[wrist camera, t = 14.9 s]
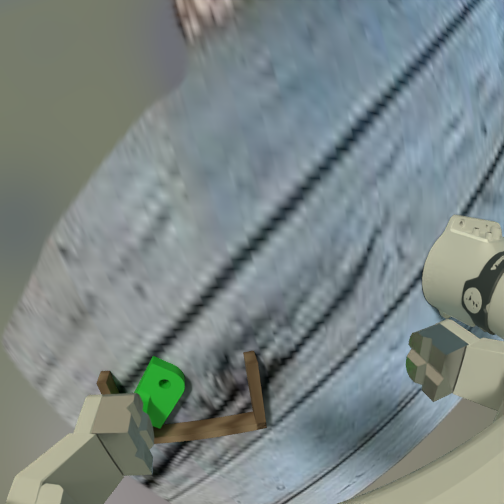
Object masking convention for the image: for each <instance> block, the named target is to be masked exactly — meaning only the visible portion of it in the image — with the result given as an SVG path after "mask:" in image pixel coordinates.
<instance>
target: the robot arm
mask: <svg viewBox="0 0 504 504" xmlns="http://www.w3.org/2000/svg"><path fill="white" fill-rule="evenodd" d="M501 231H502V230H501V227H500V224H499V223H497V222H494V221H489V220H483V219H477V218H472V217H466V216H460V215H453V216H452V217H451V218H450V220H449V222H448V225H447V227H446V229H445V231H444V233H443V234H442V235H441V236H440V237H439V238H438V240H437V241H436V242H435V243H434V245H433V247H432V248H431V250H430V252H429V254H428V257H427V259H426V262H425V266H424V270H423V277H422V286H423V292H424V295H425V298H426V300H427V301H428V302H429V303H430V304H431V305H432V306H434V307H436V308H437V309H438V310H439V313H440V315H441V316H442V317H444V318H446V320H444V321H441V322H439V323H437V324H435V325H433V326H430V327H427V328H425V329H422V330H419V331H417V332H414V333H412V335H411V336H410V339H409V346H410V348H411V350H410V352H409V354H408V355H407V358H406V369H407V373H408V375H409V377H410V378H411V379H412V380H413V381H414V382H415V383H418V384H421V385H422V391H423V392H424V393H425V394H426V395H427V396H428V397H429V398H430V399H431V400H432V401H433V402H434V401H437V400H439V399H441V398H443V397H445V396H447V395H449V394H451V393H453V394H455V395H458V396H460V397H463V398H465V399H468V400H470V401H473V402H476V403H478V404H481V405H483V406H486V407H489V408H491V409H494V410H497V411H498V413H497V415H496V417H495V419H494V422H493V423H492V424H491V425H490V426H488V427H487V428H485V429H484V430H483V431H481V432H480V433H478V434H477V435H475V436H474V437H472V438H471V439H469V440H468V441H466V442H465V443H463V444H462V445H460V446H459V447H457V448H455V449H454V450H452V451H450V452H449V453H447V454H445V455H444V456H442V457H440V458H438V459H437V460H435V461H433V462H431V463H429V464H427V465H425V466H424V467H422V468H420V469H418V470H416V471H414V472H412V473H410V474H408V475H406V476H404V477H402V478H399V479H397V480H395V481H393V482H391V483H389V484H386V485H384V486H382V487H379V488H377V489H375V490H372V491H370V492H367V493H365V494H362V495H359V496H357V497H354V498H351V499H349V500H346V501H343V502H340V503H337V504H504V341H498V340H493V339H487V338H481V339H479V338H478V337H476V336H475V335H473V334H472V333H470V332H469V331H467V330H466V329H464V328H463V327H462V326H460V325H459V324H457V323H456V322H454V321H453V320H450V319H448V318H450V317H453V318H455V319H457V320H459V321H461V322H463V323H465V324H467V325H469V326H471V327H474V326H476V325H477V326H478V327H480V329H481V330H483V331H485V332H488V333H489V334H492V335H495V334H496V335H498V336H499V337H501V338H502V339H504V237H502V232H501ZM153 445H154V432H153V426H152V423H151V420H150V417H149V415H148V414H147V413H145V412H144V411H143V401H142V399H141V397H140V395H139V394H138V393H125V394H105V395H89V396H87V397H86V399H85V401H84V404H83V407H82V410H81V413H80V415H79V418H78V421H77V424H76V427H75V430H74V433H73V434H68V435H66V436H65V437H64V438H63V439H61V440H60V441H59V442H58V443H56V444H55V445H54V446H53V447H52V448H50V449H49V450H48V451H46V452H45V453H44V454H43V455H41V456H40V457H39V458H38V459H36V460H35V461H34V462H33V463H31V464H30V465H29V466H28V467H27V468H25V469H24V470H23V471H21V472H20V473H19V474H17V475H16V476H15V479H14V481H13V484H12V487H11V489H10V492H9V495H8V498H7V501H6V504H104V503H105V501H106V500H107V499H108V497H109V496H110V495H111V493H112V492H113V491H114V490H115V488H116V487H117V486H118V484H119V483H120V482H121V480H122V479H123V478H124V476H127V475H150V474H152V467H153V455H152V454H151V452H150V448H151V447H152V446H153Z"/></svg>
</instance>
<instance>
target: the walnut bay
mask: <svg viewBox="0 0 504 504" xmlns="http://www.w3.org/2000/svg"><path fill="white" fill-rule="evenodd" d="M243 354H244V360H245V366H246V372H247V378H248V384H249V390H250V396H251V402H252V408H253V412H248V413H243V414H237V415H231V416H226V417H219V418H213V419H206V420H199V421H191V422H183V423H174V424H164V425H162V427H161V428H157V427H154V426H153V432H154V444H158V443H170V442H180V441H190V440H198V439H206V438H213V437H219V436H226V435H232V434H238V433H243V432H248V431H254V430H259V429H263V428H267V426H266V419H265V412H264V404H263V397H262V390H261V383H260V375H259V368H258V362H257V359H256V356H255V353H254V351H249V352H244V353H243ZM97 386H98V388H99V390H100V392H101V394H102V395H105V394H120V393H119V391H118V389H117V387H116V384H115V382H114V380H113V377H112V375H111V372H110V371H101V373H100V375H99V378H98V381H97Z"/></svg>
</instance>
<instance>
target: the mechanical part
mask: <svg viewBox="0 0 504 504" xmlns="http://www.w3.org/2000/svg"><path fill="white" fill-rule="evenodd" d="M163 379H166V380H168V381H163ZM184 388H185V378H184V374H183V372H182V371H181V370H180V369H179V368H178V367H177V366H175V365H173V364H171V363H168V362H166V361H164V360H161V359H159V358H157V357H154V356H153V357H152V359H151V361H150V363H149V365H148V367H147V369H146V371H145V373H144V375H143V377H142V378H141V380H140V382H139V384H138V386H137V388H136V390H135V392H134V393H138V394H139V395H140V397H141V399H142V401H143V411H144V412H145V413H147V414H148V415H149V417H150V420H151V423H152V426H154V427H157V428H161V427H162V425H163V424H164V422H165V420H166V419H167V417H168V416H169V414H170V413H171V411H172V410H173V408H174V406H175V405H176V403H177V402H178V400H179V399H180V397H181V395H182V394H183V392H184Z"/></svg>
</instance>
